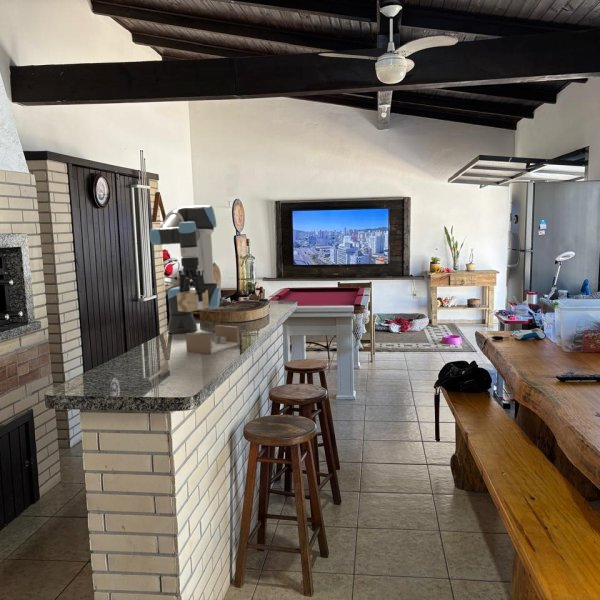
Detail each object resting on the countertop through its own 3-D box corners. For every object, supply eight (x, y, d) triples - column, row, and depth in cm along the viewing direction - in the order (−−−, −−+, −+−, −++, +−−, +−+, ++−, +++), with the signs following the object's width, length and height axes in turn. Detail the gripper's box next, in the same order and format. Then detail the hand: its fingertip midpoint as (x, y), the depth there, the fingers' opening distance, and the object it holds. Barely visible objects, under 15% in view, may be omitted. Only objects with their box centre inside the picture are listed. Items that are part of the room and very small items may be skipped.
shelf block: (178, 311, 251) (176, 293, 250) (198, 307, 260) (197, 289, 259) (188, 311, 246) (187, 293, 245) (208, 307, 256) (207, 290, 255)
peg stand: (186, 351, 249) (185, 333, 248) (218, 341, 265) (217, 324, 264) (208, 354, 241) (207, 336, 240) (239, 344, 257) (238, 326, 256)
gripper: (168, 257, 253) (172, 308, 256) (198, 257, 241) (203, 310, 244) (181, 256, 259) (185, 306, 262) (211, 256, 247) (215, 308, 250)
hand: (193, 308), depth 253 cm, fingers closed on shelf block, 7 cm apart
